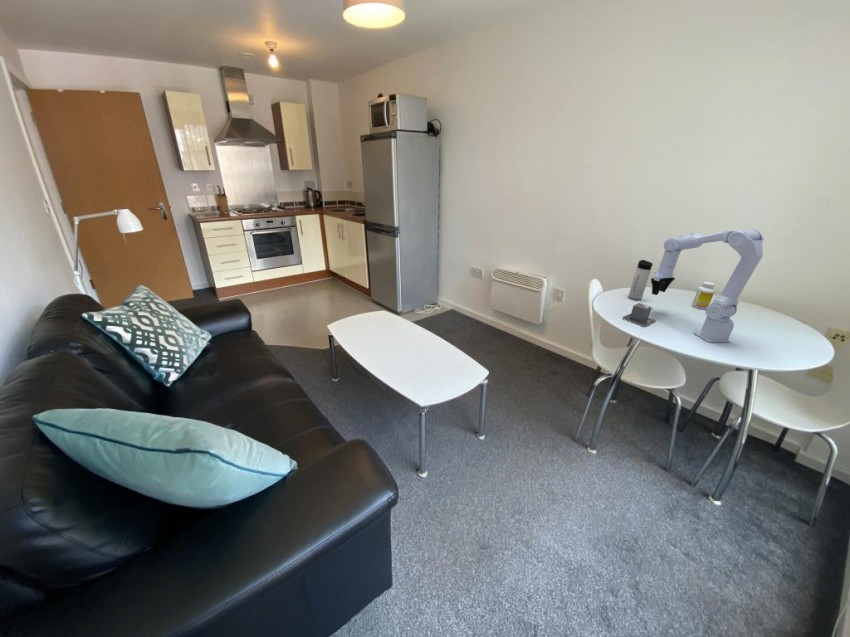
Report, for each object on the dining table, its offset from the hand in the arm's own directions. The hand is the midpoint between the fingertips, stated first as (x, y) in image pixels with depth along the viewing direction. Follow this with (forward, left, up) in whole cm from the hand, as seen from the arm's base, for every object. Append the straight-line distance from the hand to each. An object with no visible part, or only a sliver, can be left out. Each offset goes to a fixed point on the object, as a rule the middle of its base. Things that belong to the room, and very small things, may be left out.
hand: (658, 292), depth 164 cm
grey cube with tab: (+12, +8, -9) cm, 17 cm away
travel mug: (-4, -19, -11) cm, 22 cm away
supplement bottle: (-31, -7, -11) cm, 33 cm away
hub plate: (+12, +8, -10) cm, 18 cm away
